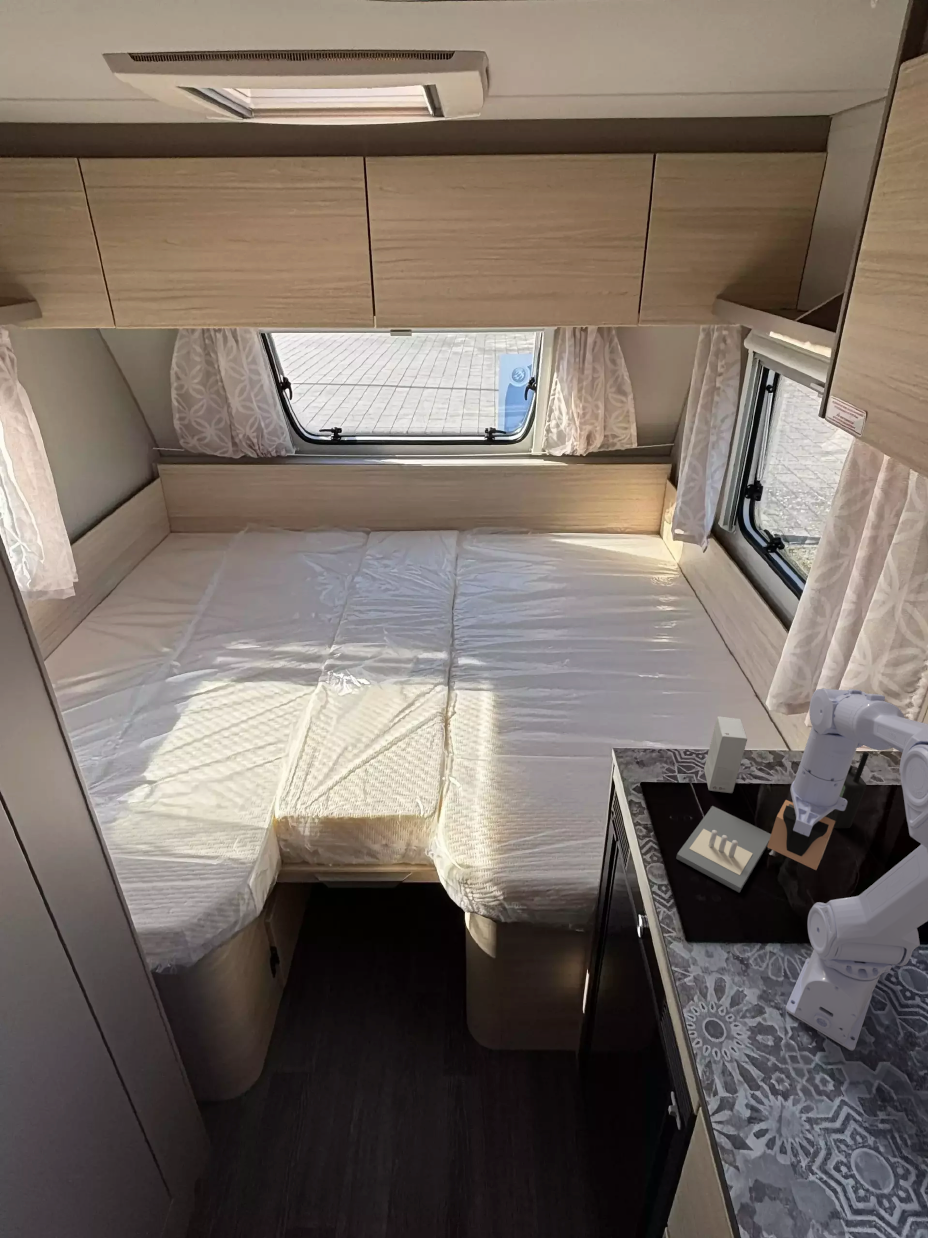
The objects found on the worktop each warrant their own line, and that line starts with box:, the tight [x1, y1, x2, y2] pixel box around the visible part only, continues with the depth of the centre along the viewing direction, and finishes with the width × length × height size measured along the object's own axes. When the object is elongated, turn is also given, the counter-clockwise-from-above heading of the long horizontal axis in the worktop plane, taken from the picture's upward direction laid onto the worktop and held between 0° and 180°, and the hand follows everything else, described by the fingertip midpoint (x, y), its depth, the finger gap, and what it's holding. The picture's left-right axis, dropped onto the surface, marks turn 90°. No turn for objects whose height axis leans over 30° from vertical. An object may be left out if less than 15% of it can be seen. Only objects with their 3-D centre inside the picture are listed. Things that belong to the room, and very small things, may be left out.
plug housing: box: [766, 799, 835, 871], centre depth 101 cm, size 4×7×6 cm, turn 52°
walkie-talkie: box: [825, 751, 870, 829], centre depth 114 cm, size 5×3×15 cm
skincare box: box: [703, 715, 748, 794], centre depth 123 cm, size 6×4×12 cm
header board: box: [675, 805, 771, 893], centre depth 110 cm, size 14×10×4 cm
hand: (798, 841), depth 101 cm, fingers closed on plug housing, 5 cm apart
